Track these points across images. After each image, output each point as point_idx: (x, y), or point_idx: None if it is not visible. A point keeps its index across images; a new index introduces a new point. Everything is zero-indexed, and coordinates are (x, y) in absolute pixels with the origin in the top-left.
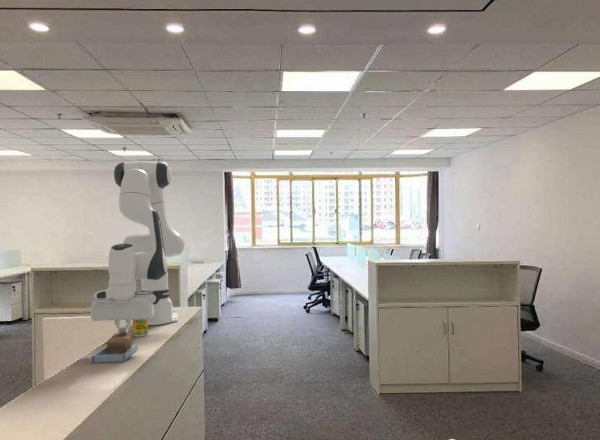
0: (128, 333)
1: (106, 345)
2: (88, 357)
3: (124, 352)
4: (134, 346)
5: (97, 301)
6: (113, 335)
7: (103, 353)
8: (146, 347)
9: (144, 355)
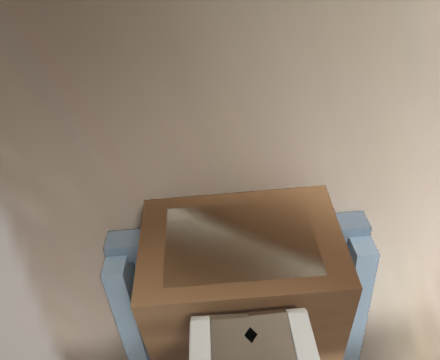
0: (308, 306)
1: (103, 284)
2: (70, 345)
3: None
4: (367, 308)
5: None
6: (150, 345)
7: None
8: (433, 145)
9: (430, 318)
